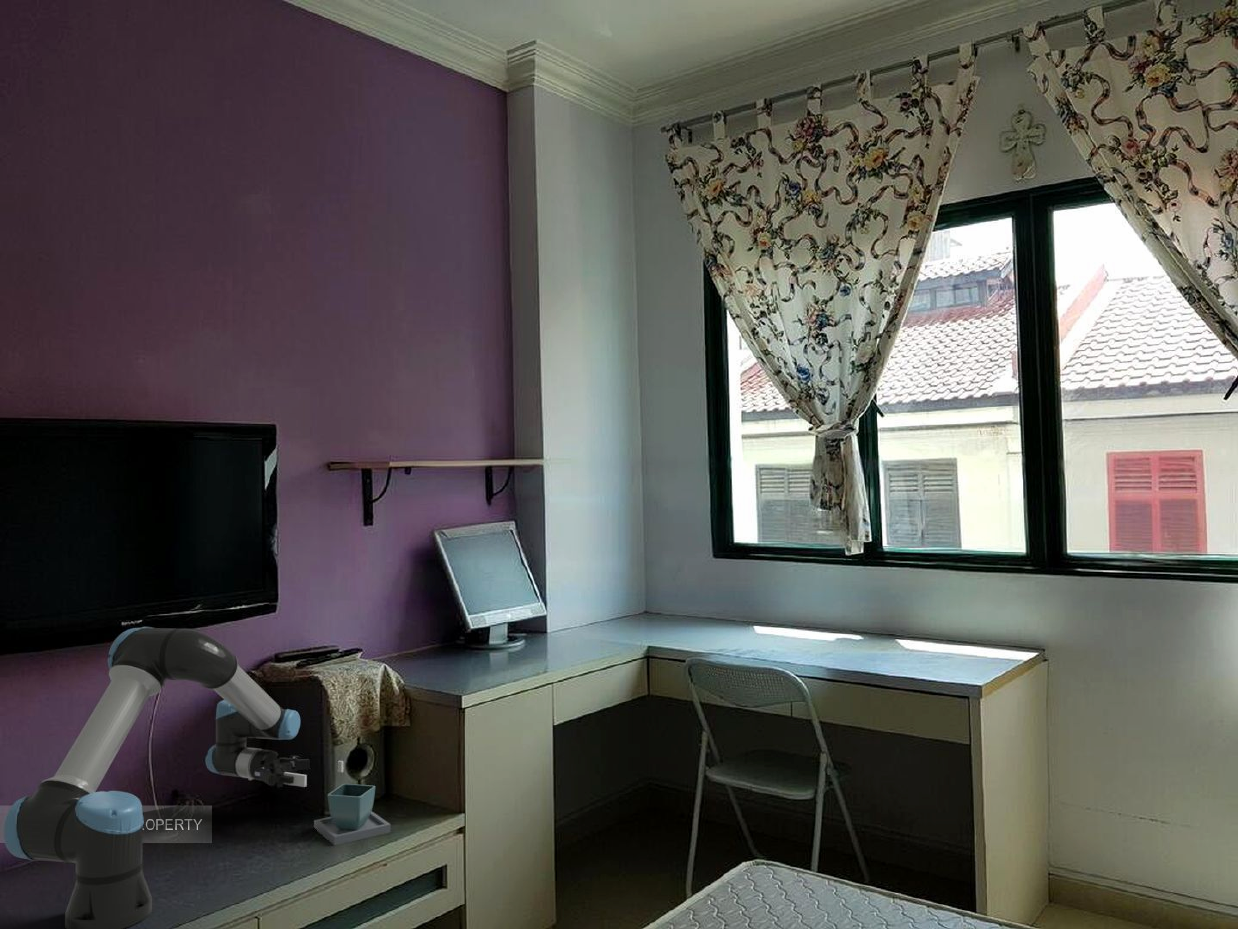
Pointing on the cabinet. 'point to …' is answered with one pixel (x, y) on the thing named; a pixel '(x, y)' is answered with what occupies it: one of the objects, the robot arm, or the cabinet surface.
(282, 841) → the cabinet surface
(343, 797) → the flower pot
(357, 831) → the plant tray
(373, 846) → the cabinet surface
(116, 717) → the robot arm
